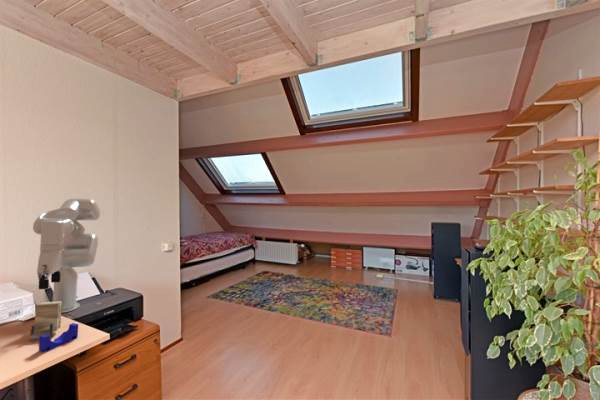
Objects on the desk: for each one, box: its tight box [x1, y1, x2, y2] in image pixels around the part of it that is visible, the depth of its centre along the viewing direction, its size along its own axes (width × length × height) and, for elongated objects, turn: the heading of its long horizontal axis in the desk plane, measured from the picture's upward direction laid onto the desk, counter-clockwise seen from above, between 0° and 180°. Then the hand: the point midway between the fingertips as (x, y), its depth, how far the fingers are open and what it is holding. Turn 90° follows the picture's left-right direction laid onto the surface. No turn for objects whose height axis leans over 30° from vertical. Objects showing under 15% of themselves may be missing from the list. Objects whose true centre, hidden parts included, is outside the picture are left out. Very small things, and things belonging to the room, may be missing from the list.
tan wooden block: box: [34, 301, 62, 331], centre depth 120 cm, size 3×8×12 cm, turn 110°
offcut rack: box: [29, 324, 57, 342], centre depth 113 cm, size 4×7×6 cm, turn 110°
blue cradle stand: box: [38, 322, 79, 353], centre depth 110 cm, size 12×4×6 cm, turn 164°
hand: (49, 285), depth 120 cm, fingers open, 9 cm apart
